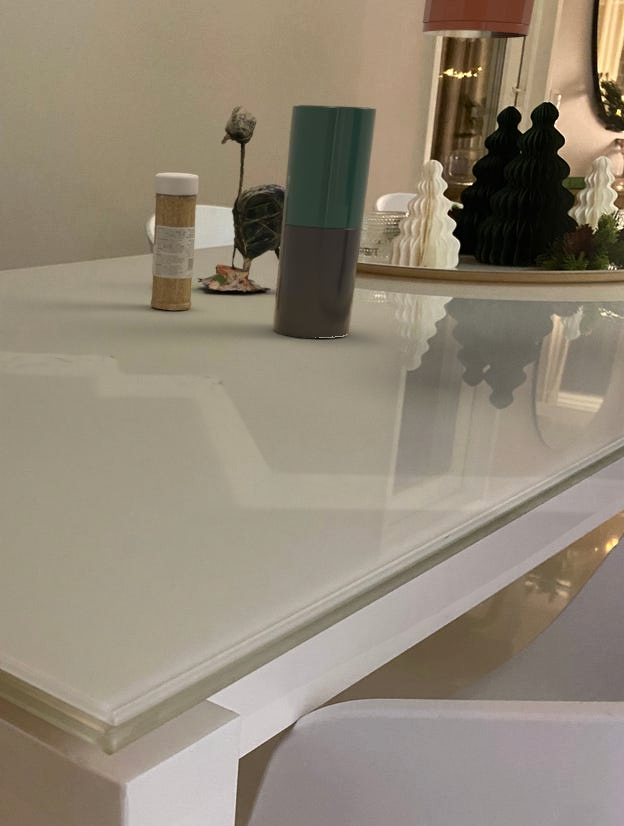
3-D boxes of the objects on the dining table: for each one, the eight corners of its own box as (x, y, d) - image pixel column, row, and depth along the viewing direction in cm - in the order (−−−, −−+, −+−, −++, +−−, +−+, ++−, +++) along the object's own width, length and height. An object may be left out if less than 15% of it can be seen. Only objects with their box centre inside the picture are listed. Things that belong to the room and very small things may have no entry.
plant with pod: (292, 297, 124) (310, 108, 114) (197, 293, 123) (208, 104, 114) (284, 287, 131) (301, 108, 122) (194, 283, 131) (204, 104, 122)
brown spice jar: (162, 302, 117) (168, 171, 111) (199, 307, 115) (206, 174, 109) (142, 308, 113) (147, 172, 107) (179, 313, 111) (186, 175, 105)
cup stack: (339, 325, 108) (364, 108, 99) (357, 339, 101) (386, 108, 92) (266, 323, 107) (285, 105, 98) (280, 338, 101) (301, 104, 91)
